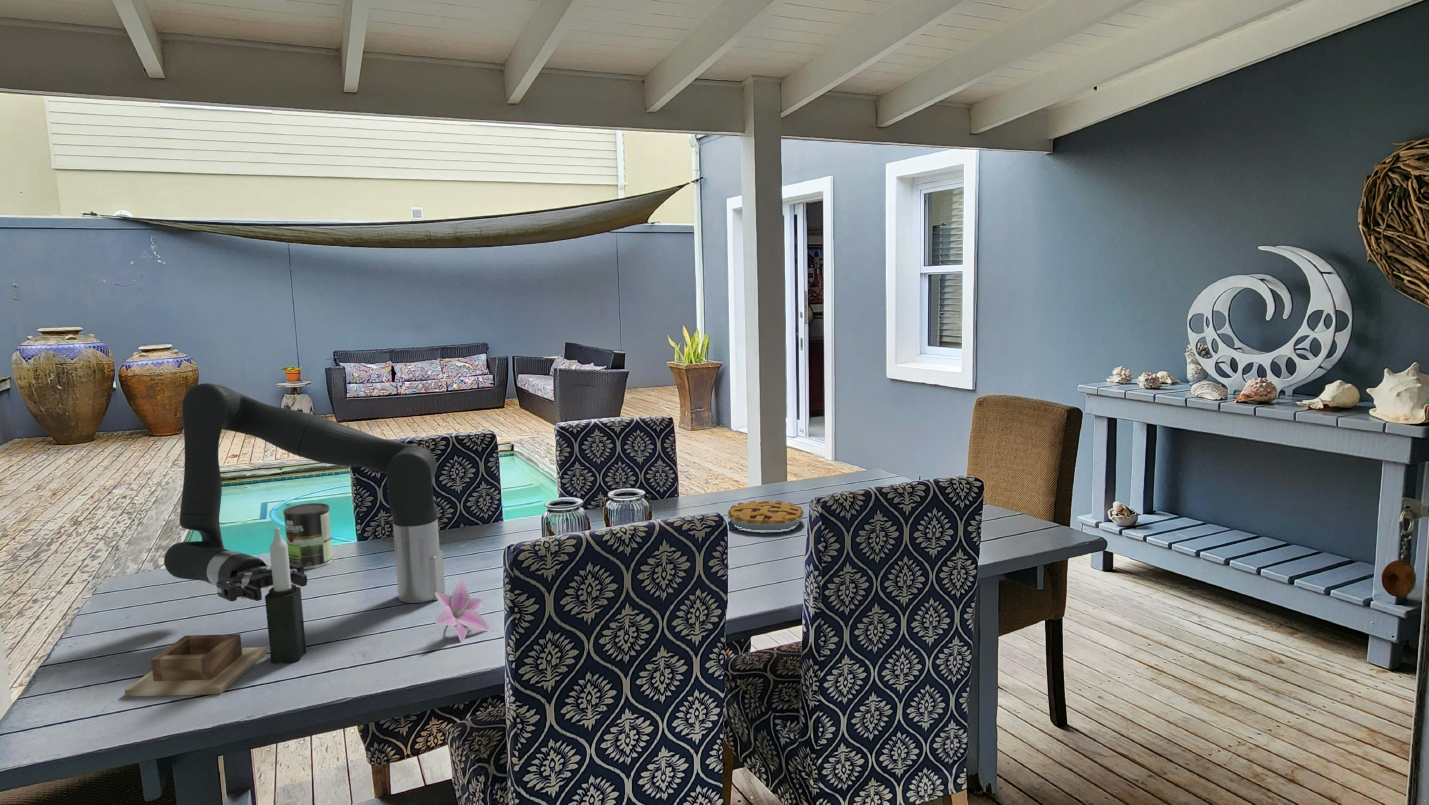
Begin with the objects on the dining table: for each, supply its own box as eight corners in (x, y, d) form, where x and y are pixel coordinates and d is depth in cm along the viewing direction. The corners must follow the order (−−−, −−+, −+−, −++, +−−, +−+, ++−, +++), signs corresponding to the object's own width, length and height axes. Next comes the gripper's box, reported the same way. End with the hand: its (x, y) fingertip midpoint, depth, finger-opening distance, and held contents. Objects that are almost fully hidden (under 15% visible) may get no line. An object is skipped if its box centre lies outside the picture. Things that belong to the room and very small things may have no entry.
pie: (721, 534, 232) (721, 516, 231) (732, 512, 253) (732, 496, 252) (802, 537, 228) (802, 519, 227) (806, 515, 249) (806, 498, 249)
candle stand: (267, 653, 161) (264, 627, 160) (220, 694, 145) (217, 665, 144) (181, 655, 161) (178, 629, 160) (125, 696, 145) (121, 667, 144)
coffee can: (306, 572, 206) (301, 515, 204) (279, 566, 211) (273, 511, 209) (342, 559, 215) (338, 505, 213) (315, 554, 220) (310, 501, 218)
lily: (426, 654, 162) (444, 615, 159) (413, 612, 171) (431, 574, 168) (484, 656, 169) (503, 618, 167) (469, 615, 178) (487, 579, 175)
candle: (280, 652, 161) (268, 524, 158) (308, 650, 162) (296, 523, 158) (268, 664, 156) (256, 532, 153) (297, 662, 157) (285, 531, 153)
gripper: (196, 564, 160) (241, 580, 151) (271, 544, 171) (317, 557, 163) (200, 602, 161) (245, 620, 152) (274, 580, 173) (320, 595, 164)
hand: (282, 587), depth 157 cm, fingers open, 8 cm apart
